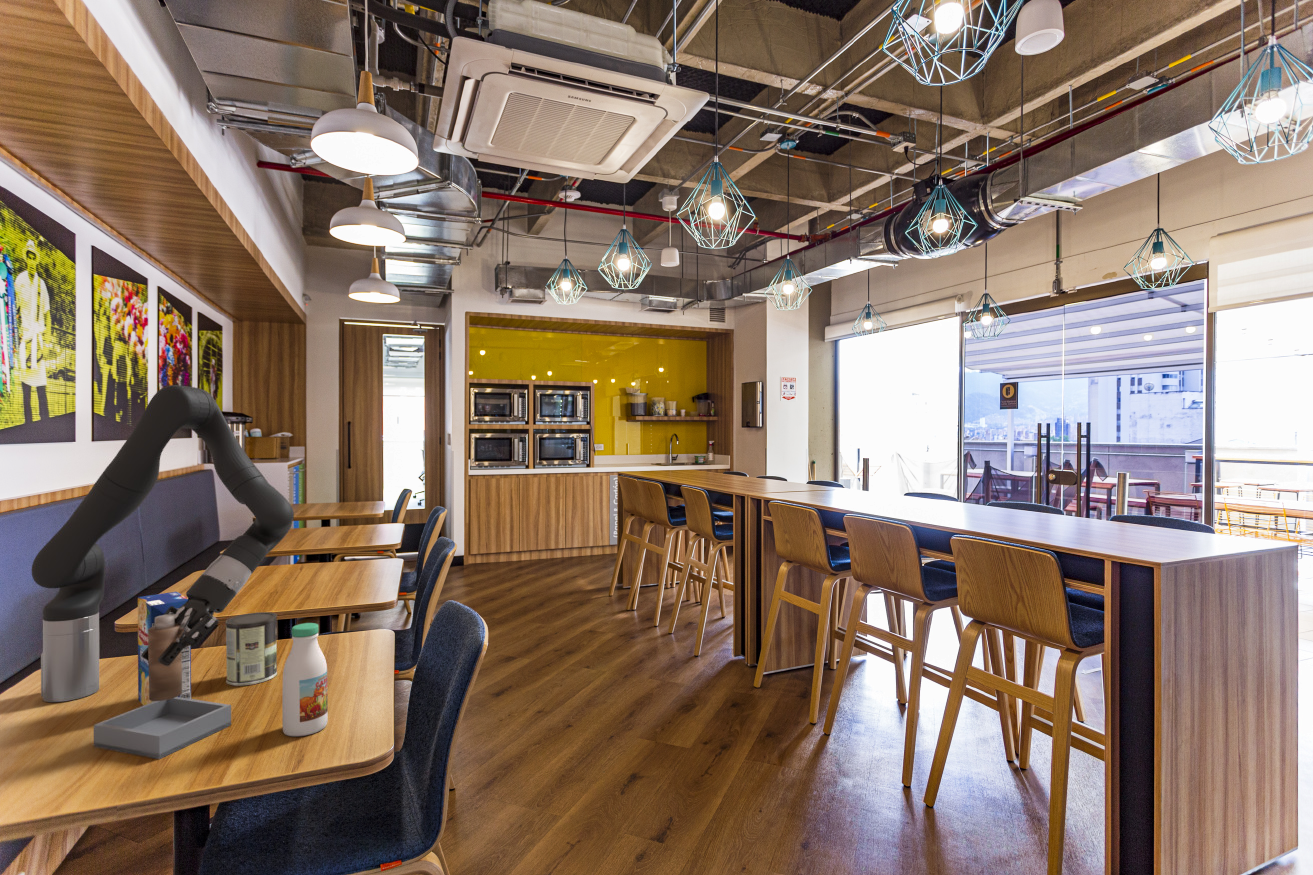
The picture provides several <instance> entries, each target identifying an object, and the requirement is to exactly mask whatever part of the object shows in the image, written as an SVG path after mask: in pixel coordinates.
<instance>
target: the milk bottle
mask: <svg viewBox="0 0 1313 875" xmlns="http://www.w3.org/2000/svg"><path fill="white" fill-rule="evenodd" d="M319 627H320V626H319V624H318V623H314V622H305V623H299V624H296V625H294V626H292V628H291V640H292V646H291V649H290V652H289V654H288V656H287V658H286V660H285V662H284V667H283V671H282V696H281V697H282V700H281V701H282V705H281V706H282V709H281V710H282V717H281V718H282V719H281V720H282V732H283V734H284V735H286V736H288V737H305V736H309V735H312V734H316V733H318V732H320V731H322V730H324V728H326V726H327V724H328V720H329V718H328V716H329V713H328V708H329V707H328V704H329V703H328V701H329V700H328V694H329V692H328V691H329V690H328V689H329V688H328V686H329V685H328V665H327V661H326V657H325V655H324V653H323V651H322V649H321V648H320V645H319V642H318V637H319Z"/></svg>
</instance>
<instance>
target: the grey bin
mask: <svg viewBox="0 0 1313 875" xmlns="http://www.w3.org/2000/svg"><path fill="white" fill-rule="evenodd" d="M230 726H232V705H231V704H227V703H221V702H214V701H208V700H207V701H206V700H201V699H193V698H191V699H188V698H181V697H175V698H172V699H168V700H163V701H155V702H152V703H149V704H147V705H142V706H139V707H136V708H134V709H132V710H129V711H125V712H124V713H121V714H118V715H116V716H113V717H111V718H108V719H106V720H103V721H100V722H98V723H96V724H93V748H97V749H98V748H99V749H102V748H103V750H110V751H113V750H114V751H115V752H120V753H125V754H131V755H136V756H141V757H145V756H146V757H147V758H152V759H156V760H160V759H163V758H165V757H167V756H169V755H172V754H173V753H176V752H178V751H180V750H182V749H184V748H186V747H188V746H190V745H192V744H194V743H197V742H199V741H201V740H203V739H205V738H207V737H209V736H212V735H214V734H216V733H219V732H220V731H222V730H224V729H227V728H229V727H230Z"/></svg>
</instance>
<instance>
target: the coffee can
mask: <svg viewBox="0 0 1313 875" xmlns="http://www.w3.org/2000/svg"><path fill="white" fill-rule="evenodd" d="M277 618H278V614H277V613H275V612H269V611H268V612H267V611H264V612H263V611H260V612H259V611H258V612H250V613H244V614H243V613H242V614H239V615H235V616H232V617H229V618H228V619H226V620H225V626H226V627H225V631H226V632H225V638H226V639H225V642H226V643H225V644H226V649H225V650H226V652H225V653H226V681H225V683H226V684H227V685H230V686H235V687H238V686H239V687H240V686H241V687H244V686H253V685H257V684H261V683H264V682H267V681H270V680H272V679H273V678H275V677H276V676H277V675H278V671H277V670H278V668H277V666H278V665H277V664H278V663H277V659H278V658H277Z"/></svg>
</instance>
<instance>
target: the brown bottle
mask: <svg viewBox="0 0 1313 875" xmlns="http://www.w3.org/2000/svg"><path fill="white" fill-rule="evenodd" d="M180 625H181V624H178V623H175V618H174V615H173V614H168V615H161V616H157V617H155V626H154V627H151V628H149V629H148V655H149V700H151V701H163V700H168V699H172V698H175V697H177V696H179V695H181V694H182V652H180V653H179V655H178V656H177V657H176V658H175V659H174V661H173V662H172V663H171V664H170V665H169V666H165V665H163V664H161V663H160V662H158V658H159V657H160V656H161V655H162V654H163V652H164V651H165V650H166V649H167V648H168V647H169V645H170V644H171V643H172V642H173V643H175V642H174V640H175V638H176V636H177V635H178V633H179V627H180Z"/></svg>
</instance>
